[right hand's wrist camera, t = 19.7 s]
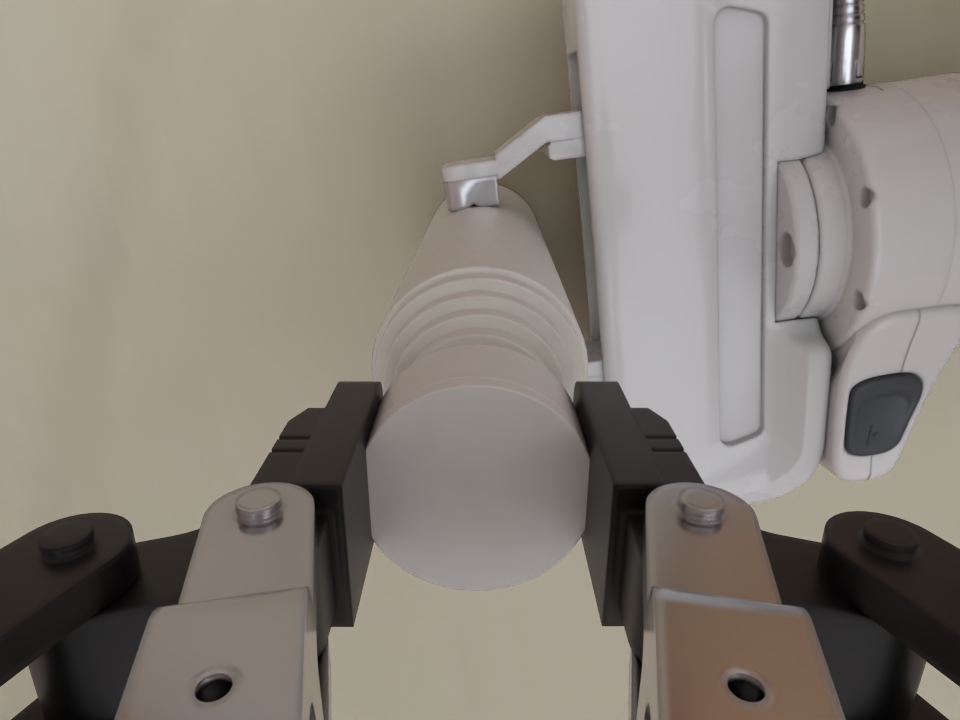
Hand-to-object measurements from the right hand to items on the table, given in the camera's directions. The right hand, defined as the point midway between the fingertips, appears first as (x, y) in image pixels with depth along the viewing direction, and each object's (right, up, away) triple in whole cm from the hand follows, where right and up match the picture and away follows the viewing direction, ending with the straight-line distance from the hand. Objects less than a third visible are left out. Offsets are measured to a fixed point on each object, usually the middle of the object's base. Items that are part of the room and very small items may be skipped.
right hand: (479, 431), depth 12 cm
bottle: (0, +7, +18) cm, 19 cm away
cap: (0, -1, -1) cm, 2 cm away
